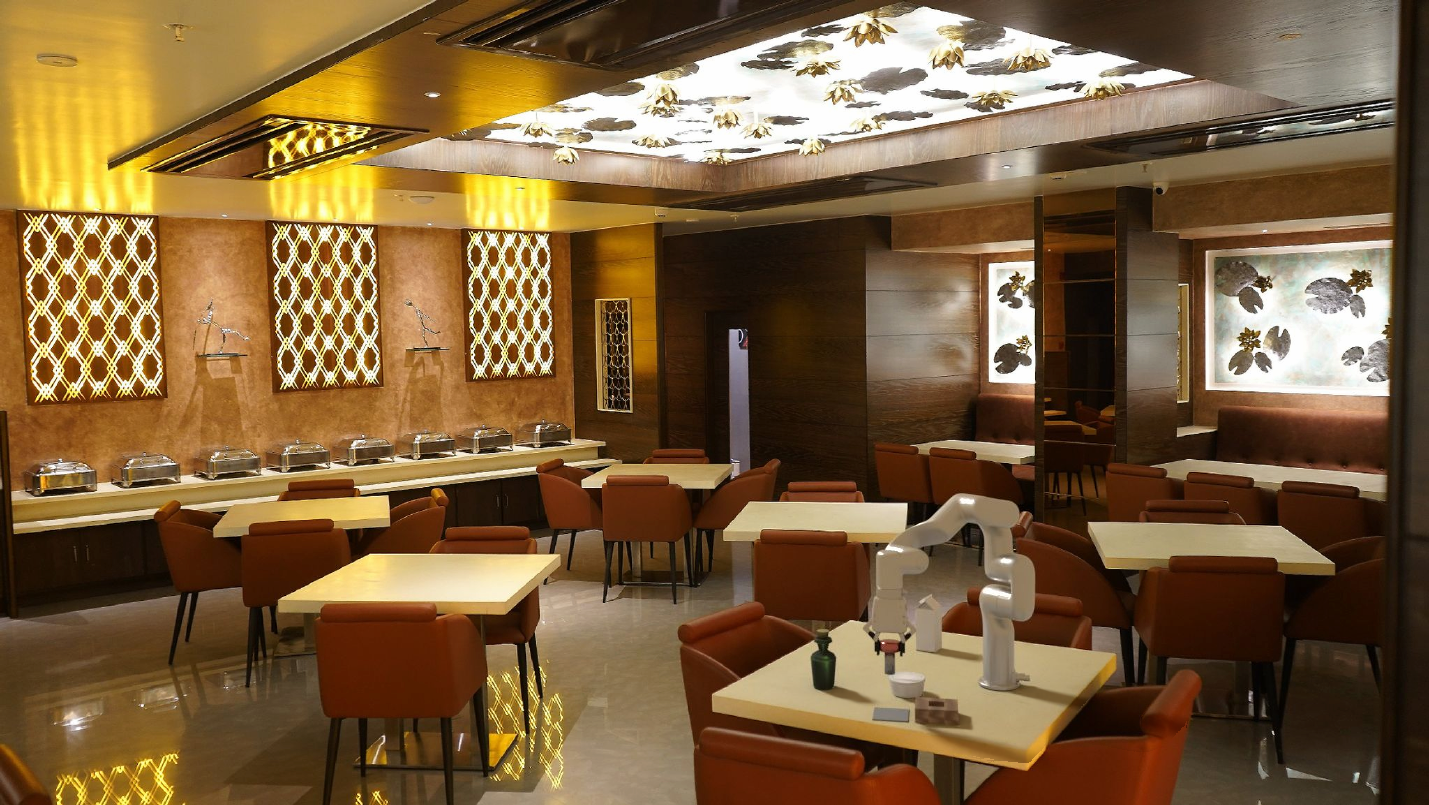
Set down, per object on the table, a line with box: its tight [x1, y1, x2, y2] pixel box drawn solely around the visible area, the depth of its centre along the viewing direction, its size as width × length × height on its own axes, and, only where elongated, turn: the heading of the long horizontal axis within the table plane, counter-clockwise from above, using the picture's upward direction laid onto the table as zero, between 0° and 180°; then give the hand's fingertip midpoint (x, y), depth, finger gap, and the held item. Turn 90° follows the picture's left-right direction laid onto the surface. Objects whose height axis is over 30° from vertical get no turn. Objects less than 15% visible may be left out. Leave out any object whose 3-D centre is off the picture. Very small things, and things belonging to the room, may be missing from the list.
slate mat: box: [871, 706, 910, 723], centre depth 298 cm, size 10×10×1 cm
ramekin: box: [888, 671, 926, 699], centre depth 316 cm, size 11×11×5 cm
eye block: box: [914, 696, 959, 726], centre depth 295 cm, size 12×10×4 cm
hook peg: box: [879, 638, 901, 676], centre depth 297 cm, size 6×6×9 cm
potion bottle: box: [809, 628, 837, 691], centre depth 324 cm, size 8×8×18 cm
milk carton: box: [915, 594, 943, 653], centre depth 362 cm, size 7×7×19 cm
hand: (889, 654), depth 297 cm, fingers closed on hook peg, 6 cm apart
